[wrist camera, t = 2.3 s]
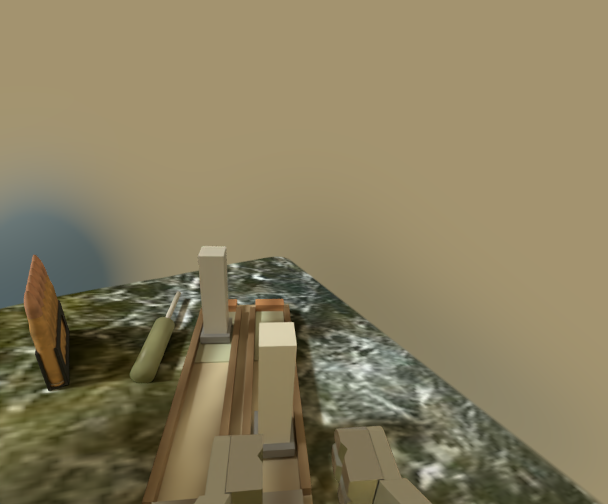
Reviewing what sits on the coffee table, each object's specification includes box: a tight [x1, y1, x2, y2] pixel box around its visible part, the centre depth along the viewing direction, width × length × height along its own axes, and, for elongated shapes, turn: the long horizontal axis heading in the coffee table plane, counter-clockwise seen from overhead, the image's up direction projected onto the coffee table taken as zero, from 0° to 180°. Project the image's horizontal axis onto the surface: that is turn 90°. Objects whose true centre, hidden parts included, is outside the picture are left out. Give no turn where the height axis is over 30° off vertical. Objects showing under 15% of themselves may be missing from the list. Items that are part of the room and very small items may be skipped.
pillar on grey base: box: [198, 246, 232, 344], centre depth 40 cm, size 4×4×12 cm
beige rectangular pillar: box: [254, 322, 297, 458], centre depth 27 cm, size 4×4×12 cm
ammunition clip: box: [24, 255, 69, 391], centre depth 36 cm, size 11×2×12 cm, turn 33°
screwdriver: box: [130, 292, 181, 383], centre depth 43 cm, size 17×3×3 cm, turn 6°
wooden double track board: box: [142, 299, 313, 504], centre depth 36 cm, size 13×29×2 cm, turn 6°
